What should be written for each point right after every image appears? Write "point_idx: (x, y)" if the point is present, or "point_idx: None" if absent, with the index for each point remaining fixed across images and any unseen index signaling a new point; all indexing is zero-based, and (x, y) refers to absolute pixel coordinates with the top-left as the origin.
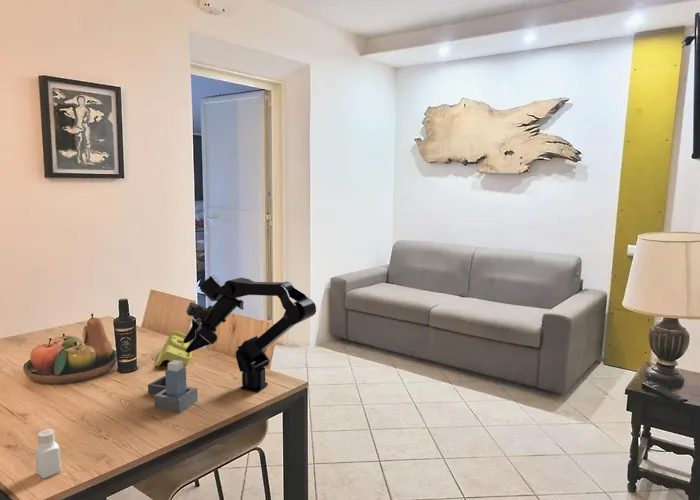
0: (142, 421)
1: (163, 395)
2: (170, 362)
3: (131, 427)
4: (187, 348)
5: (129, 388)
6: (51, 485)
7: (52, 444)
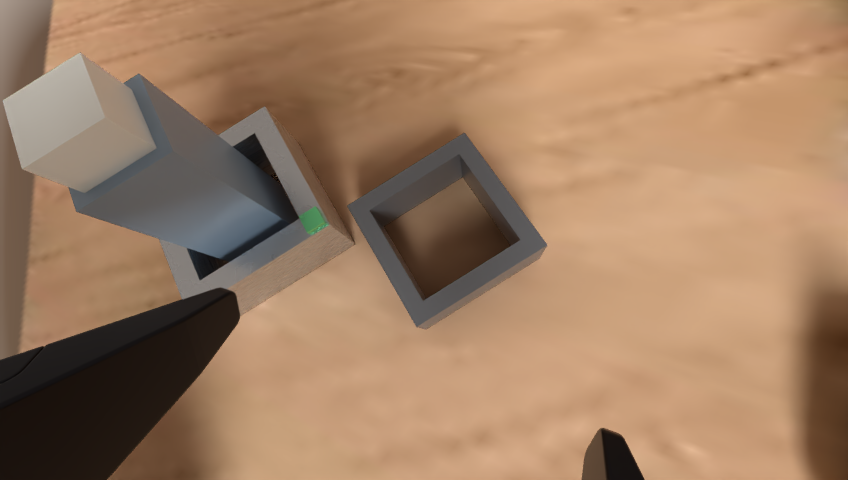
0: (232, 80)
1: (233, 140)
2: (78, 75)
3: (219, 43)
4: (174, 302)
5: (598, 103)
6: None
7: None
